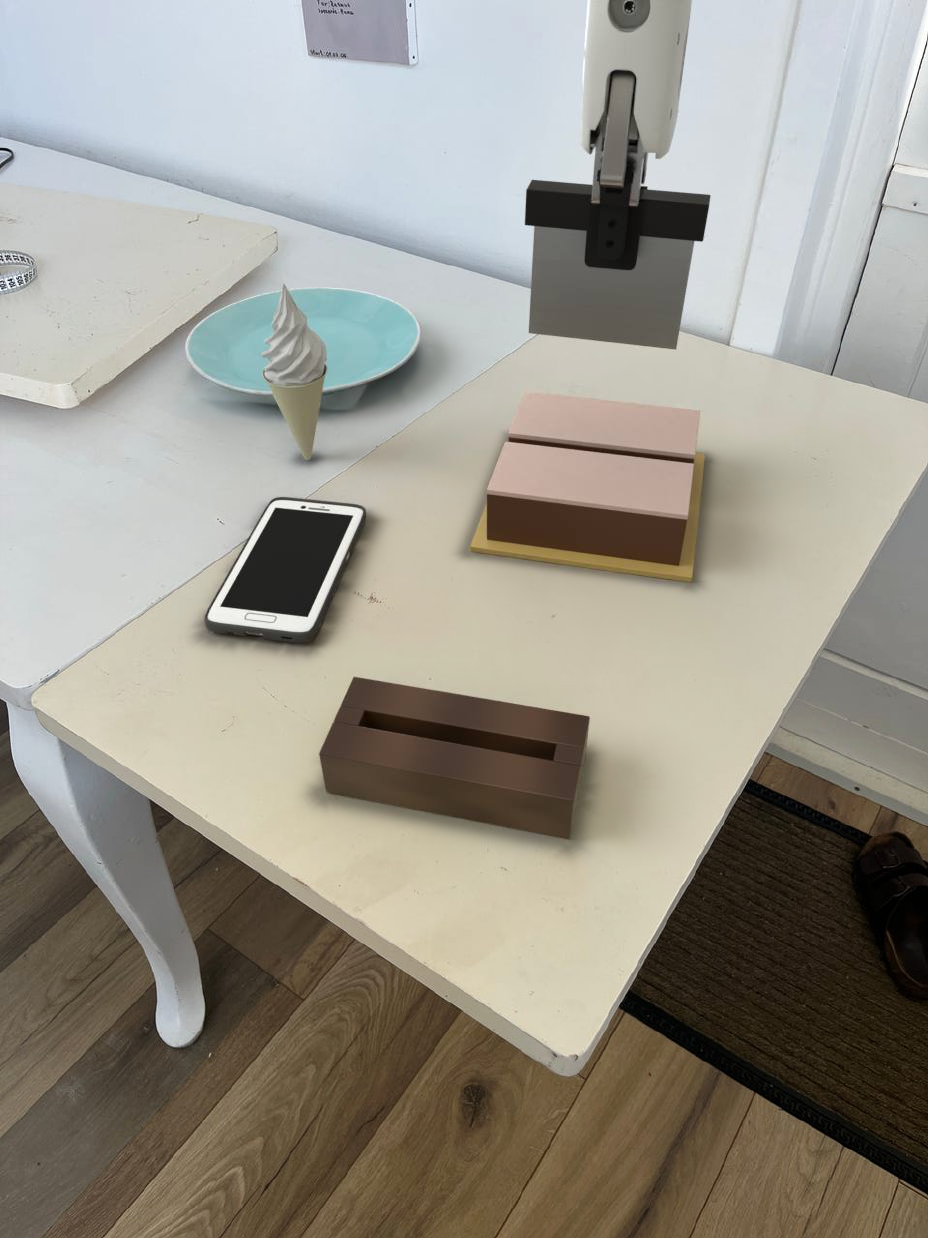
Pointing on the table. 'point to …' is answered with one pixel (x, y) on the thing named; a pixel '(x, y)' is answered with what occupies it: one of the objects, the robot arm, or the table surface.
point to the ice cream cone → (296, 370)
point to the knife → (609, 297)
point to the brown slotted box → (457, 756)
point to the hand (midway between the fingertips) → (612, 256)
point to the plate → (343, 318)
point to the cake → (597, 487)
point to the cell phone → (287, 570)
